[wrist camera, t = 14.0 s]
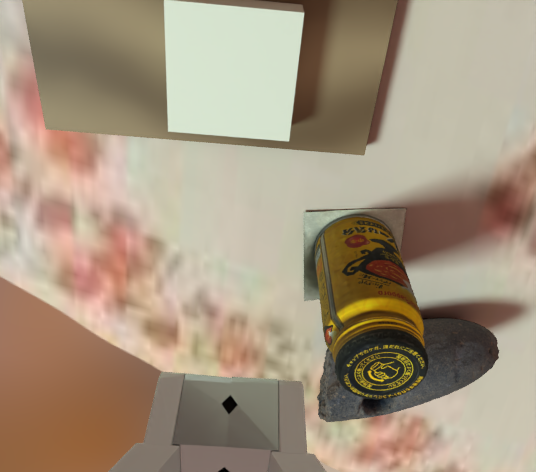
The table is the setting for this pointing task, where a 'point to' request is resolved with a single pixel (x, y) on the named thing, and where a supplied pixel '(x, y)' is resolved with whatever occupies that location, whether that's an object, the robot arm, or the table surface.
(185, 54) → the cream tile
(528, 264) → the table surface
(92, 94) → the walnut board
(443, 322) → the perforated stone tool
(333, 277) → the condiment
